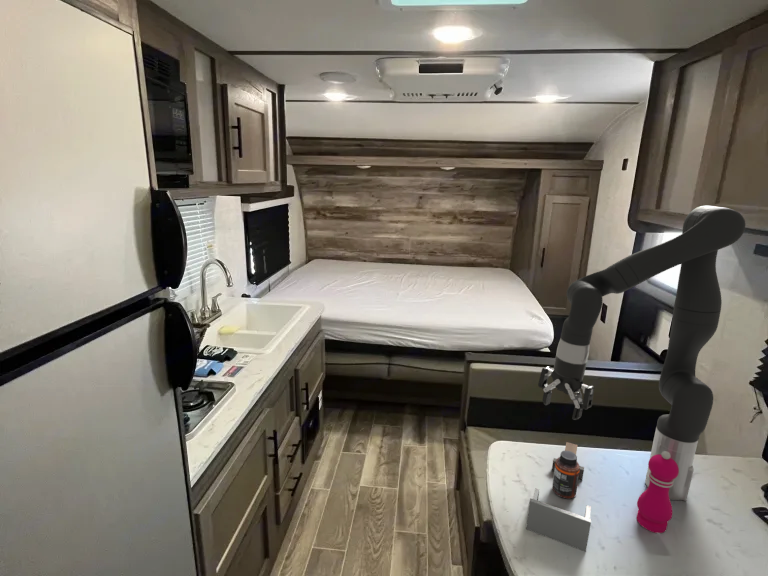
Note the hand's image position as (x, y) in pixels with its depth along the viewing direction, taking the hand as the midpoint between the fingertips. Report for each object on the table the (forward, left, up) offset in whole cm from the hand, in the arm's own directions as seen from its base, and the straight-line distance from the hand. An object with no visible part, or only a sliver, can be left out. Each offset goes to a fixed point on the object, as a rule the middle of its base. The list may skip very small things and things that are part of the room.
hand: (560, 411), depth 116 cm
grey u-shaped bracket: (-4, +19, -20) cm, 27 cm away
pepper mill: (-24, +7, -20) cm, 32 cm away
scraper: (-4, -5, -20) cm, 21 cm away
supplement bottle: (-4, +6, -20) cm, 21 cm away
